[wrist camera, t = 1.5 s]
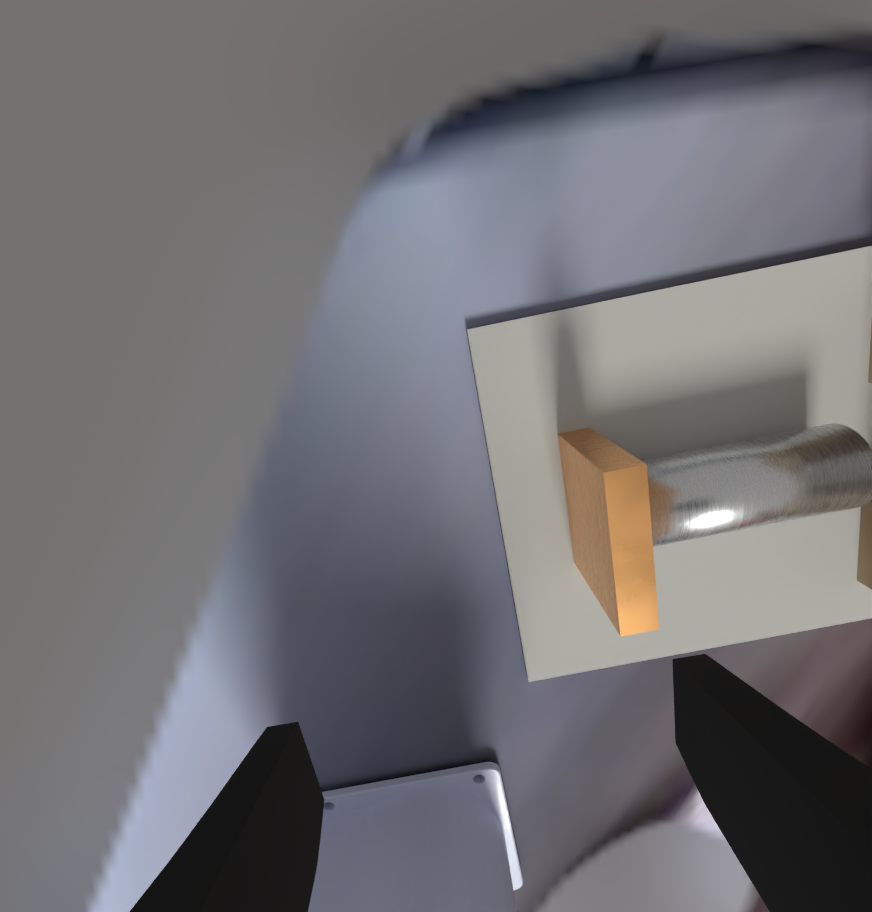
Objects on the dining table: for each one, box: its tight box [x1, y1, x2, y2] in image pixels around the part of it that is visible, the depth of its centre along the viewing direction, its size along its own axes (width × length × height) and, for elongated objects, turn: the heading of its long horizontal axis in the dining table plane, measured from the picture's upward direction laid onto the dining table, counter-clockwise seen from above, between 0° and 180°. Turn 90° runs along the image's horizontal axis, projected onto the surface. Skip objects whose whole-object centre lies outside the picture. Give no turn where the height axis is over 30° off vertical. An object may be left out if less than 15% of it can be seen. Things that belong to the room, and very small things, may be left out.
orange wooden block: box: [557, 423, 872, 637], centre depth 16 cm, size 9×5×5 cm, turn 101°
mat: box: [466, 246, 872, 682], centre depth 18 cm, size 19×15×1 cm
